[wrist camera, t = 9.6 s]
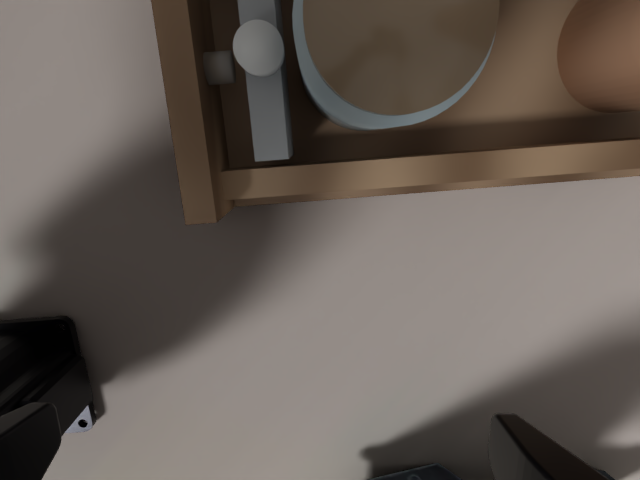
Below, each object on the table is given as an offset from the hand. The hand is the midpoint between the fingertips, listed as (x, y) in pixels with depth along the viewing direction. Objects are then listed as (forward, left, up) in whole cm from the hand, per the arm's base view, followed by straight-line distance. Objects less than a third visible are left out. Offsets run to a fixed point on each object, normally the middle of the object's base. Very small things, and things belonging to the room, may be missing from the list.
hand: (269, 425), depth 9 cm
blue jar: (+4, +9, -12) cm, 15 cm away
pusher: (0, +9, -12) cm, 15 cm away
